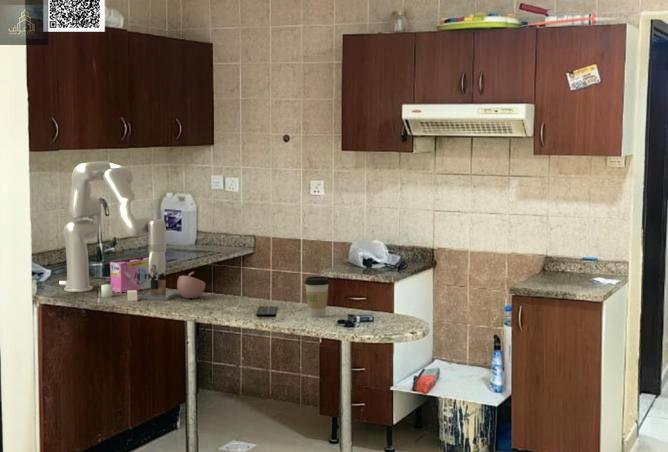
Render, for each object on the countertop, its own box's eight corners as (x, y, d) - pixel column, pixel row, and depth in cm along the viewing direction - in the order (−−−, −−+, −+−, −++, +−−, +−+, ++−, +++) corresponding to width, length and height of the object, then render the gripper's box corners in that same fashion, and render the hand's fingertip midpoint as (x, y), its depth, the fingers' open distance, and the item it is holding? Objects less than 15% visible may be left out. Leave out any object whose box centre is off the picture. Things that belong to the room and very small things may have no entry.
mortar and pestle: (210, 297, 428) (210, 271, 427) (194, 301, 418) (193, 275, 416) (188, 294, 434) (187, 269, 433) (171, 299, 423) (171, 273, 422)
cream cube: (127, 301, 420) (127, 292, 420) (127, 299, 424) (127, 290, 423) (137, 300, 421) (137, 291, 420) (137, 299, 425) (136, 290, 424)
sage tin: (99, 297, 429) (99, 286, 429) (103, 295, 434) (103, 284, 433) (110, 297, 428) (110, 286, 428) (114, 295, 433) (114, 284, 433)
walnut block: (151, 295, 427) (150, 281, 426) (154, 293, 432) (154, 279, 431) (162, 295, 426) (161, 281, 425) (165, 293, 431) (165, 279, 430)
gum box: (151, 284, 462) (151, 255, 460) (163, 286, 457) (162, 257, 455) (110, 291, 444) (109, 261, 442) (121, 293, 439) (120, 263, 437)
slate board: (139, 299, 423) (139, 297, 423) (150, 293, 437) (150, 291, 436) (167, 300, 421) (166, 297, 421) (176, 294, 435) (176, 291, 435)
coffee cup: (304, 313, 391) (303, 276, 390) (328, 313, 392) (328, 276, 390) (305, 318, 382) (305, 280, 380) (330, 318, 382) (330, 280, 381)
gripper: (155, 245, 436) (156, 283, 437) (142, 250, 418) (143, 290, 420) (171, 245, 434) (172, 283, 436) (159, 251, 417) (160, 290, 419)
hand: (158, 287), depth 428 cm, fingers open, 9 cm apart
